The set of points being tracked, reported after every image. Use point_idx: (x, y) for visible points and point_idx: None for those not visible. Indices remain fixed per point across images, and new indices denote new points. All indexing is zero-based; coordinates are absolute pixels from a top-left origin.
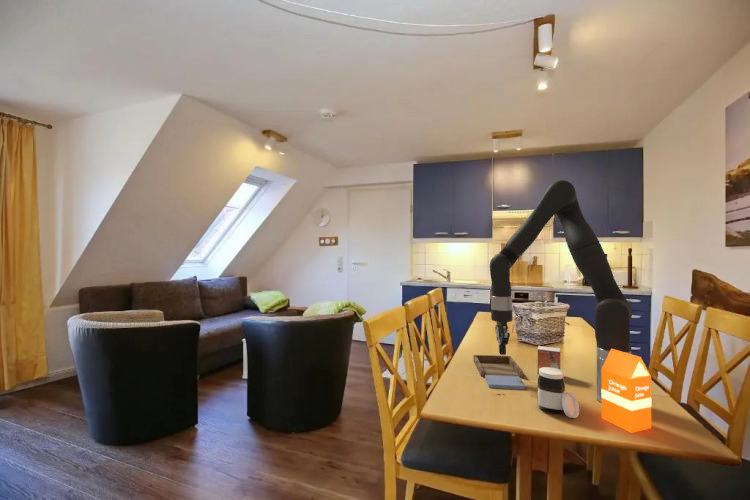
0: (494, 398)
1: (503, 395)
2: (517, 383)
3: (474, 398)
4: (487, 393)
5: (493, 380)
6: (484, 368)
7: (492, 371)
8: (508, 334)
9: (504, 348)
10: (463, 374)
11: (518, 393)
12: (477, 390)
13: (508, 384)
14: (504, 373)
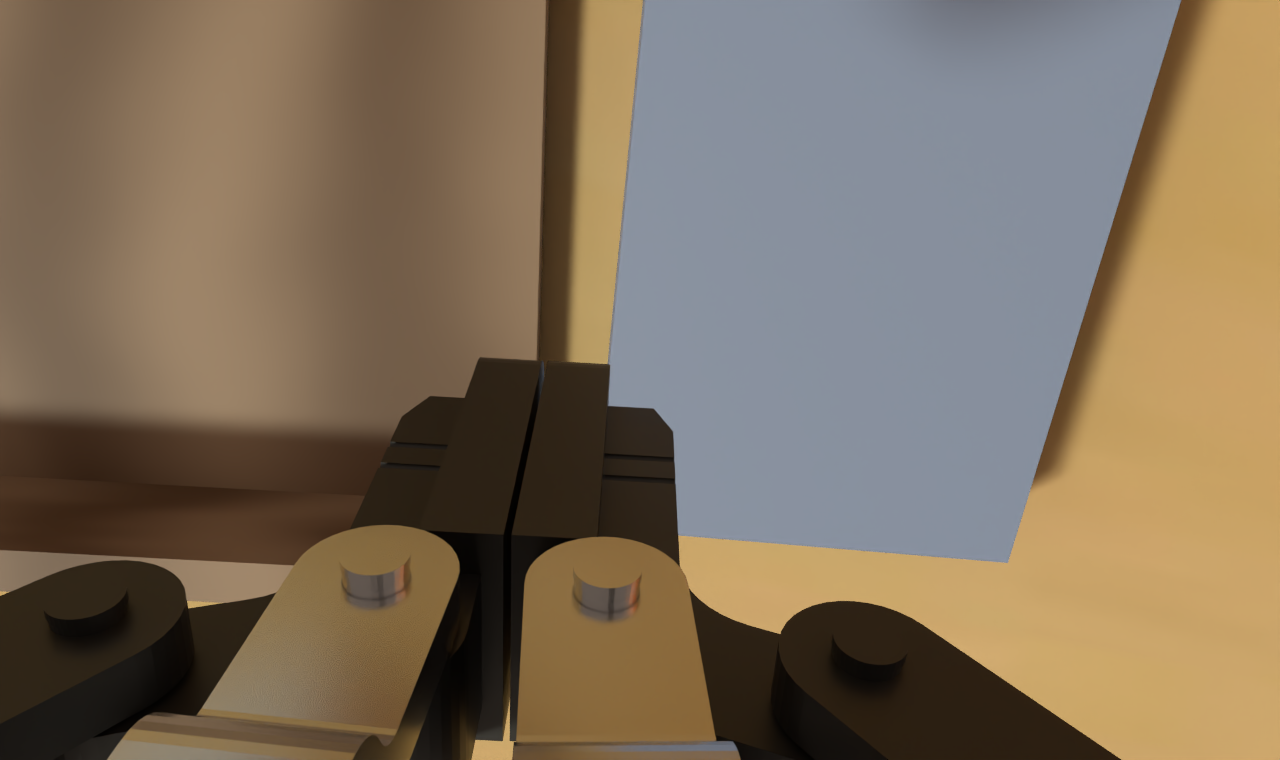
0: (1268, 514)
1: (1200, 372)
2: (1036, 83)
3: (1211, 728)
4: (1092, 559)
5: (849, 461)
6: (104, 403)
7: (242, 302)
8: None
9: (676, 533)
10: None
11: (1175, 114)
12: (975, 652)
13: (1058, 269)
14: (319, 101)
